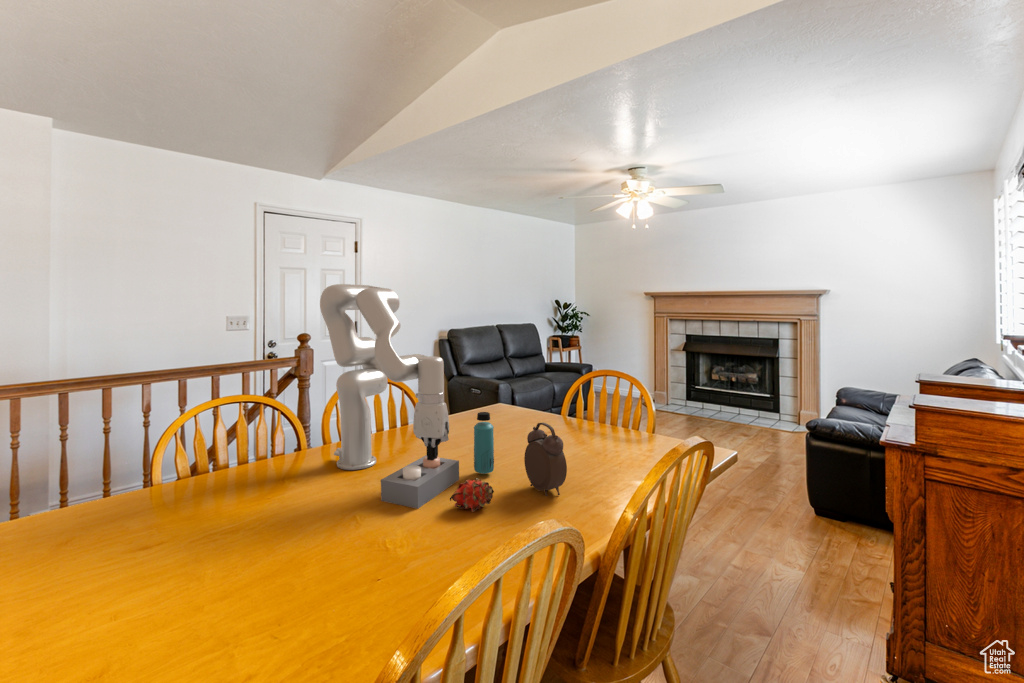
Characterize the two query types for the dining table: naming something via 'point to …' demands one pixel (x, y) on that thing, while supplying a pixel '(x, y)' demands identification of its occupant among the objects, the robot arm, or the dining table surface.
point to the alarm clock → (545, 460)
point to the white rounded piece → (412, 472)
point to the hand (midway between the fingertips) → (432, 458)
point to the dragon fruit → (472, 494)
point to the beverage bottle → (483, 444)
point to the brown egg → (431, 463)
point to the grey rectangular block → (419, 483)
